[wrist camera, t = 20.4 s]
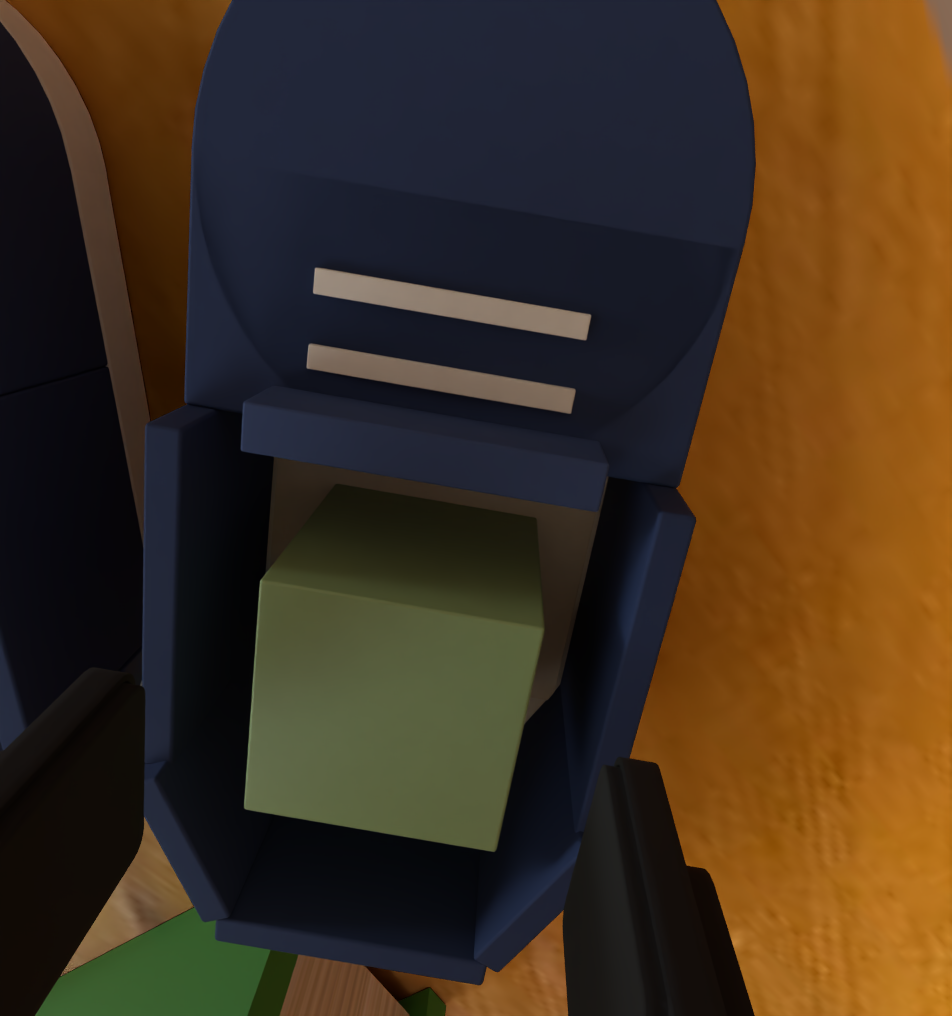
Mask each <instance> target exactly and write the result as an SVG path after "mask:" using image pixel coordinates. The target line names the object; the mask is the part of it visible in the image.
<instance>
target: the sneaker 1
mask: <svg viewBox="0 0 952 1016" xmlns="http://www.w3.org/2000/svg"><path fill="white" fill-rule="evenodd" d="M149 422H151V421H150V416H149V410H148V405H147V399H146V393H145V388H144V382H143V376H142V371H141V365H140V360H139V354H138V348H137V343H136V337H135V331H134V326H133V320H132V315H131V309H130V303H129V298H128V292H127V287H126V281H125V275H124V270H123V264H122V258H121V253H120V247H119V242H118V236H117V230H116V225H115V219H114V213H113V208H112V202H111V197H110V191H109V185H108V180H107V172H106V167H105V163H104V159H103V155H102V150H101V146H100V142H99V139H98V137H97V134H96V131H95V128H94V125H93V123H92V120H91V117H90V114H89V112H88V110H87V108H86V106H85V104H84V102H83V100H82V98H81V96H80V93H79V91H78V89H77V87H76V85H75V84H74V82H73V81H72V79H71V77H70V76H69V74H68V72H67V71H66V69H65V68H64V66H63V64H62V63H61V61H60V59H59V58H58V57H57V55H56V54H55V53H54V52H53V50H52V49H51V48H50V46H49V45H48V44H47V43H46V41H45V40H44V39H43V37H42V36H41V35H40V34H39V32H38V31H37V30H36V29H35V28H34V27H33V26H32V25H31V24H30V23H29V22H28V21H27V20H26V19H25V18H24V17H23V16H22V15H21V14H20V13H19V12H18V11H17V10H16V9H15V8H14V7H12V6H11V5H10V4H9V3H8V2H6V1H5V0H0V751H3V750H5V749H6V748H7V747H8V746H9V745H10V744H11V743H12V742H13V741H14V740H15V739H16V738H17V737H18V736H19V735H20V734H21V733H22V732H23V731H24V730H25V729H26V728H27V727H28V726H29V725H30V724H31V723H32V722H33V721H34V720H35V719H36V718H38V717H39V716H40V715H41V714H42V713H43V712H44V711H45V710H46V709H47V708H48V707H49V706H50V705H51V704H52V703H53V702H54V701H55V700H56V699H57V698H58V697H59V696H60V695H61V694H62V693H63V692H64V691H65V690H66V689H67V688H68V687H69V686H70V685H71V684H72V683H73V682H74V681H75V680H77V679H78V678H79V677H80V676H81V675H82V674H83V673H84V672H85V671H86V670H88V669H89V668H93V667H95V668H101V669H107V670H113V671H119V672H125V673H130V674H132V675H133V676H134V679H135V685H140V686H142V635H143V549H144V463H145V426H146V424H147V423H149Z"/></svg>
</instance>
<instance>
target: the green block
mask: <svg viewBox="0 0 952 1016" xmlns="http://www.w3.org/2000/svg"><path fill="white" fill-rule="evenodd" d="M544 632H545V626H544V612H543V598H542V584H541V570H540V556H539V541H538V527H537V519H536V518H534V517H529V516H523V515H517V514H511V513H505V512H500V511H494V510H488V509H482V508H476V507H470V506H465V505H459V504H453V503H447V502H441V501H436V500H430V499H424V498H418V497H412V496H406V495H401V494H395V493H389V492H383V491H377V490H372V489H366V488H360V487H354V486H348V485H342V484H335V485H334V487H333V488H332V489H331V490H330V492H329V493H328V494H327V496H326V497H325V498H324V499H323V501H322V502H321V503H320V505H319V506H318V507H317V508H316V510H315V511H314V512H313V514H312V515H311V516H310V517H309V519H308V520H307V521H306V523H305V524H304V525H303V526H302V528H301V529H300V530H299V532H298V533H297V534H296V535H295V537H294V538H293V539H292V541H291V542H290V543H289V544H288V546H287V547H286V548H285V550H284V551H283V552H282V553H281V555H280V556H279V557H278V559H277V560H276V561H275V562H274V564H273V565H272V566H271V568H270V569H269V570H268V571H267V573H266V574H265V575H264V577H263V578H262V579H261V581H260V587H259V601H258V615H257V630H256V644H255V658H254V672H253V686H252V700H251V714H250V728H249V743H248V757H247V771H246V785H245V799H244V808H245V809H246V810H251V811H257V812H263V813H268V814H274V815H280V816H286V817H292V818H298V819H304V820H309V821H315V822H321V823H327V824H333V825H339V826H345V827H351V828H356V829H362V830H368V831H374V832H380V833H386V834H392V835H398V836H403V837H409V838H415V839H421V840H427V841H433V842H439V843H445V844H450V845H456V846H462V847H468V848H474V849H480V850H486V851H492V852H495V851H496V849H497V846H498V842H499V837H500V832H501V828H502V823H503V819H504V814H505V810H506V805H507V801H508V796H509V791H510V787H511V782H512V778H513V773H514V769H515V764H516V760H517V755H518V750H519V746H520V741H521V737H522V732H523V728H524V723H525V719H526V714H527V709H528V705H529V700H530V696H531V691H532V687H533V682H534V678H535V673H536V668H537V664H538V659H539V655H540V650H541V646H542V641H543V637H544Z"/></svg>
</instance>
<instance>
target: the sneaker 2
mask: <svg viewBox="0 0 952 1016" xmlns="http://www.w3.org/2000/svg"><path fill="white" fill-rule="evenodd" d="M755 167H756V160H755V136H754V120H753V114H752V108H751V102H750V96H749V90H748V84H747V80H746V76H745V73H744V70H743V66H742V63H741V60H740V57H739V53H738V50H737V47H736V43H735V40H734V38H733V36H732V34H731V31H730V29H729V27H728V25H727V23H726V20H725V18H724V16H723V14H722V12H721V9H720V7H719V5H718V3H717V1H716V0H232V1H231V3H230V5H229V7H228V9H227V11H226V13H225V15H224V17H223V19H222V21H221V23H220V25H219V27H218V29H217V32H216V35H215V38H214V41H213V44H212V46H211V49H210V52H209V55H208V58H207V61H206V64H205V67H204V70H203V75H202V79H201V84H200V89H199V93H198V98H197V103H196V107H195V117H194V128H193V139H192V157H191V191H190V225H189V258H188V292H187V326H186V360H185V393H184V401H185V403H187V405H185V406H183V407H181V408H178V409H176V410H174V411H172V412H170V413H168V414H166V415H164V416H161V417H159V418H157V419H155V420H153V421H151V422H149V423H147V424H146V426H145V463H144V549H143V635H142V687H144V689H145V769H144V817H145V819H146V820H147V822H148V824H149V826H150V828H151V830H152V831H153V833H154V835H155V837H156V839H157V840H158V842H159V844H160V846H161V848H162V849H163V851H164V853H165V855H166V857H167V858H168V860H169V862H170V864H171V866H172V867H173V869H174V871H175V873H176V875H177V877H178V878H179V880H180V882H181V884H182V886H183V887H184V889H185V891H186V893H187V895H188V896H189V898H190V900H191V902H192V904H193V905H194V907H195V909H196V911H197V913H198V914H199V916H200V918H201V920H202V921H203V922H209V921H214V920H216V925H215V940H217V941H221V942H227V943H233V944H239V945H245V946H251V947H257V948H263V949H268V950H274V951H280V952H286V953H292V954H298V955H304V956H310V957H316V958H322V959H328V960H333V961H339V962H345V963H351V964H357V965H363V966H369V967H375V968H381V969H387V970H392V971H398V972H404V973H410V974H416V975H422V976H428V977H434V978H440V979H446V980H451V981H457V982H463V983H469V984H475V985H481V984H482V983H483V981H484V976H485V972H486V968H487V967H488V968H490V969H492V970H493V971H495V972H499V971H500V970H501V969H502V968H504V967H505V966H506V965H507V964H508V963H509V962H510V961H511V960H512V959H513V958H514V957H515V956H516V955H517V954H518V953H519V952H520V951H521V950H522V949H523V948H524V947H525V946H526V945H528V944H529V943H530V942H531V941H532V940H533V939H534V938H535V937H536V936H537V935H538V934H539V933H540V932H541V931H542V930H543V929H544V928H545V927H546V926H547V925H548V924H549V923H550V922H552V921H553V920H554V919H555V918H556V917H557V916H558V915H559V914H560V913H561V912H562V911H563V910H564V905H565V901H566V897H567V893H568V889H569V885H570V882H571V878H572V874H573V870H574V867H575V863H576V859H577V855H578V852H579V848H580V844H581V840H582V837H583V833H584V829H585V825H586V822H587V818H588V814H589V811H590V807H591V803H592V799H593V796H594V792H595V788H596V784H597V781H598V777H599V773H600V770H601V768H602V766H603V765H609V766H614V763H615V761H616V759H617V758H618V757H623V758H630V754H631V751H632V747H633V744H634V740H635V737H636V733H637V730H638V726H639V722H640V719H641V715H642V712H643V708H644V705H645V701H646V698H647V694H648V690H649V687H650V683H651V680H652V676H653V673H654V669H655V666H656V662H657V658H658V655H659V651H660V648H661V644H662V641H663V637H664V634H665V630H666V626H667V623H668V619H669V616H670V612H671V609H672V605H673V602H674V598H675V594H676V591H677V587H678V584H679V580H680V577H681V573H682V570H683V566H684V562H685V559H686V555H687V552H688V548H689V545H690V541H691V538H692V534H693V530H694V527H695V523H696V517H695V516H694V514H693V513H692V511H691V510H690V508H689V507H688V505H687V504H686V502H685V501H684V499H683V498H682V496H681V495H680V493H679V492H678V490H677V489H676V488H677V487H678V486H679V485H680V482H681V478H682V474H683V471H684V467H685V463H686V459H687V456H688V452H689V448H690V445H691V441H692V437H693V433H694V430H695V426H696V422H697V419H698V415H699V411H700V407H701V404H702V400H703V396H704V392H705V389H706V385H707V381H708V378H709V374H710V370H711V366H712V363H713V359H714V355H715V351H716V348H717V344H718V340H719V337H720V333H721V329H722V325H723V322H724V318H725V314H726V311H727V307H728V303H729V299H730V296H731V292H732V288H733V284H734V281H735V277H736V273H737V270H738V266H739V262H740V258H741V255H742V251H743V247H744V244H745V239H746V234H747V229H748V224H749V219H750V214H751V210H752V204H753V191H754V179H755ZM335 484H342V485H348V486H354V487H360V488H366V489H372V490H377V491H383V492H389V493H395V494H401V495H406V496H412V497H418V498H424V499H430V500H436V501H441V502H447V503H453V504H459V505H465V506H470V507H476V508H482V509H488V510H494V511H500V512H505V513H511V514H517V515H523V516H529V517H534V518H536V519H537V527H538V541H539V556H540V570H541V584H542V598H543V612H544V626H545V632H544V637H543V641H542V646H541V650H540V655H539V659H538V664H537V668H536V673H535V678H534V682H533V687H532V691H531V696H530V700H529V705H528V709H527V714H526V719H525V723H524V728H523V732H522V737H521V741H520V746H519V750H518V755H517V760H516V764H515V769H514V773H513V778H512V782H511V787H510V791H509V796H508V801H507V805H506V810H505V814H504V819H503V823H502V828H501V832H500V837H499V842H498V846H497V849H496V851H495V852H492V851H486V850H480V849H474V848H468V847H462V846H456V845H450V844H445V843H439V842H433V841H427V840H421V839H415V838H409V837H403V836H398V835H392V834H386V833H380V832H374V831H368V830H362V829H356V828H351V827H345V826H339V825H333V824H327V823H321V822H315V821H309V820H304V819H298V818H292V817H286V816H280V815H274V814H268V813H263V812H257V811H251V810H246V809H245V808H244V799H245V785H246V771H247V757H248V743H249V728H250V714H251V700H252V686H253V672H254V658H255V644H256V630H257V615H258V601H259V587H260V581H261V579H262V578H263V577H264V575H265V574H266V573H267V571H268V570H269V569H270V568H271V566H272V565H273V564H274V562H275V561H276V560H277V559H278V557H279V556H280V555H281V553H282V552H283V551H284V550H285V548H286V547H287V546H288V544H289V543H290V542H291V541H292V539H293V538H294V537H295V535H296V534H297V533H298V532H299V530H300V529H301V528H302V526H303V525H304V524H305V523H306V521H307V520H308V519H309V517H310V516H311V515H312V514H313V512H314V511H315V510H316V508H317V507H318V506H319V505H320V503H321V502H322V501H323V499H324V498H325V497H326V496H327V494H328V493H329V492H330V490H331V489H332V488H333V487H334V485H335Z"/></svg>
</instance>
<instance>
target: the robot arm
mask: <svg viewBox="0 0 952 1016" xmlns="http://www.w3.org/2000/svg"><path fill="white" fill-rule="evenodd" d="M144 769H145V689H144V687H142V686H140V685H135V679H134V676H133V675H132V674H130V673H125V672H119V671H113V670H107V669H101V668H95V667H93V668H89V669H88V670H86V671H85V672H84V673H83V674H82V675H81V676H80V677H79V678H78V679H77V680H75V681H74V682H73V683H72V684H71V685H70V686H69V687H68V688H67V689H66V690H65V691H64V692H63V693H62V694H61V695H60V696H59V697H58V698H57V699H56V700H55V701H54V702H53V703H52V704H51V705H50V706H49V707H48V708H47V709H46V710H45V711H44V712H43V713H42V714H41V715H40V716H39V717H38V718H36V719H35V720H34V721H33V722H32V723H31V724H30V725H29V726H28V727H27V728H26V729H25V730H24V731H23V732H22V733H21V734H20V735H19V736H18V737H17V738H16V739H15V740H14V741H13V742H12V743H11V744H10V745H9V746H8V747H7V748H6V749H5V750H3V751H0V1016H35V1015H36V1013H37V1012H38V1010H39V1009H40V1007H41V1005H42V1004H43V1002H44V1001H45V999H46V998H47V996H48V994H49V993H50V991H51V990H52V988H53V986H54V985H55V983H56V982H57V980H58V978H59V977H60V975H61V974H62V972H63V971H64V969H65V967H66V966H67V964H68V963H69V961H70V959H71V958H72V956H73V955H74V953H75V952H76V950H77V948H78V947H79V945H80V944H81V942H82V940H83V939H84V937H85V936H86V934H87V932H88V931H89V929H90V928H91V926H92V925H93V923H94V921H95V920H96V918H97V917H98V915H99V913H100V912H101V910H102V909H103V907H104V905H105V904H106V902H107V901H108V899H109V898H110V896H111V894H112V893H113V891H114V890H115V888H116V886H117V885H118V883H119V882H120V880H121V878H122V877H123V875H124V874H125V872H126V871H127V869H128V867H129V866H130V864H131V863H132V861H133V859H134V858H135V856H136V854H137V852H138V849H139V847H140V844H141V841H142V837H143V830H144ZM563 941H564V957H565V972H566V987H567V1002H568V1016H755V1015H754V1012H753V1009H752V1006H751V1002H750V999H749V996H748V993H747V990H746V986H745V983H744V980H743V977H742V973H741V970H740V967H739V964H738V960H737V957H736V954H735V951H734V947H733V944H732V941H731V938H730V935H729V931H728V928H727V925H726V922H725V918H724V915H723V912H722V909H721V905H720V902H719V899H718V896H717V892H716V889H715V886H714V883H713V881H712V878H711V876H710V874H709V873H708V872H707V871H706V870H705V869H703V868H697V867H691V866H686V864H685V860H684V856H683V853H682V849H681V845H680V842H679V838H678V834H677V831H676V827H675V823H674V820H673V816H672V812H671V809H670V805H669V801H668V798H667V794H666V790H665V787H664V783H663V779H662V776H661V772H660V769H659V766H658V765H657V764H656V763H653V762H647V761H641V760H635V759H629V758H623V757H618V758H617V759H616V761H615V763H614V766H609V765H603V766H602V768H601V770H600V773H599V777H598V781H597V784H596V788H595V792H594V796H593V799H592V803H591V807H590V811H589V814H588V818H587V822H586V825H585V829H584V833H583V837H582V840H581V844H580V848H579V852H578V855H577V859H576V863H575V867H574V870H573V874H572V878H571V882H570V885H569V889H568V893H567V897H566V901H565V905H564V912H563Z"/></svg>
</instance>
